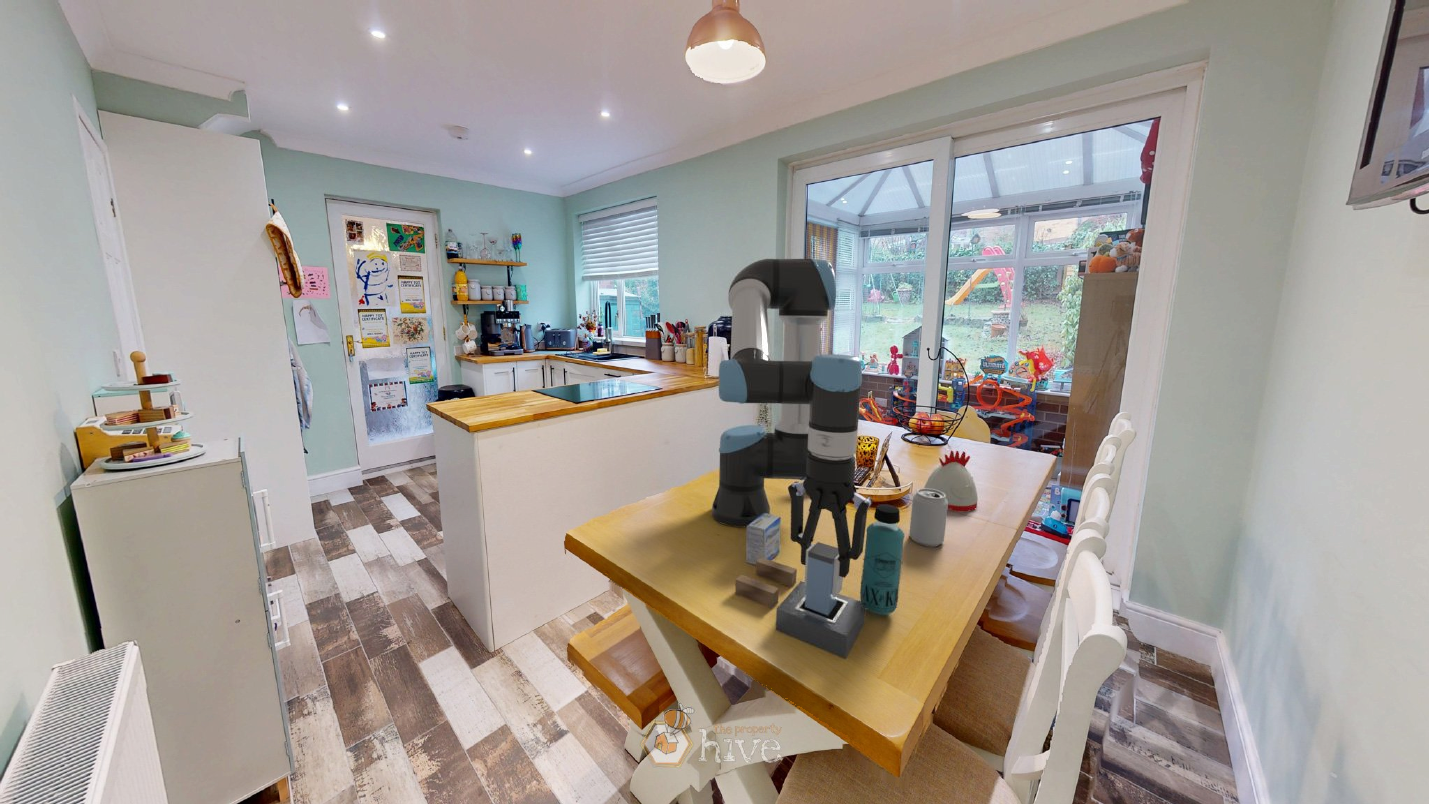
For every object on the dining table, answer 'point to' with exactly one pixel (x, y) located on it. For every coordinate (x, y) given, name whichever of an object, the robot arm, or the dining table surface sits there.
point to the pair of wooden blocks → (761, 590)
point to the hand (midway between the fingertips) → (823, 587)
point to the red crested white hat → (954, 482)
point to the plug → (821, 578)
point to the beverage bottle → (882, 561)
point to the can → (928, 517)
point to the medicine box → (763, 538)
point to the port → (821, 622)
